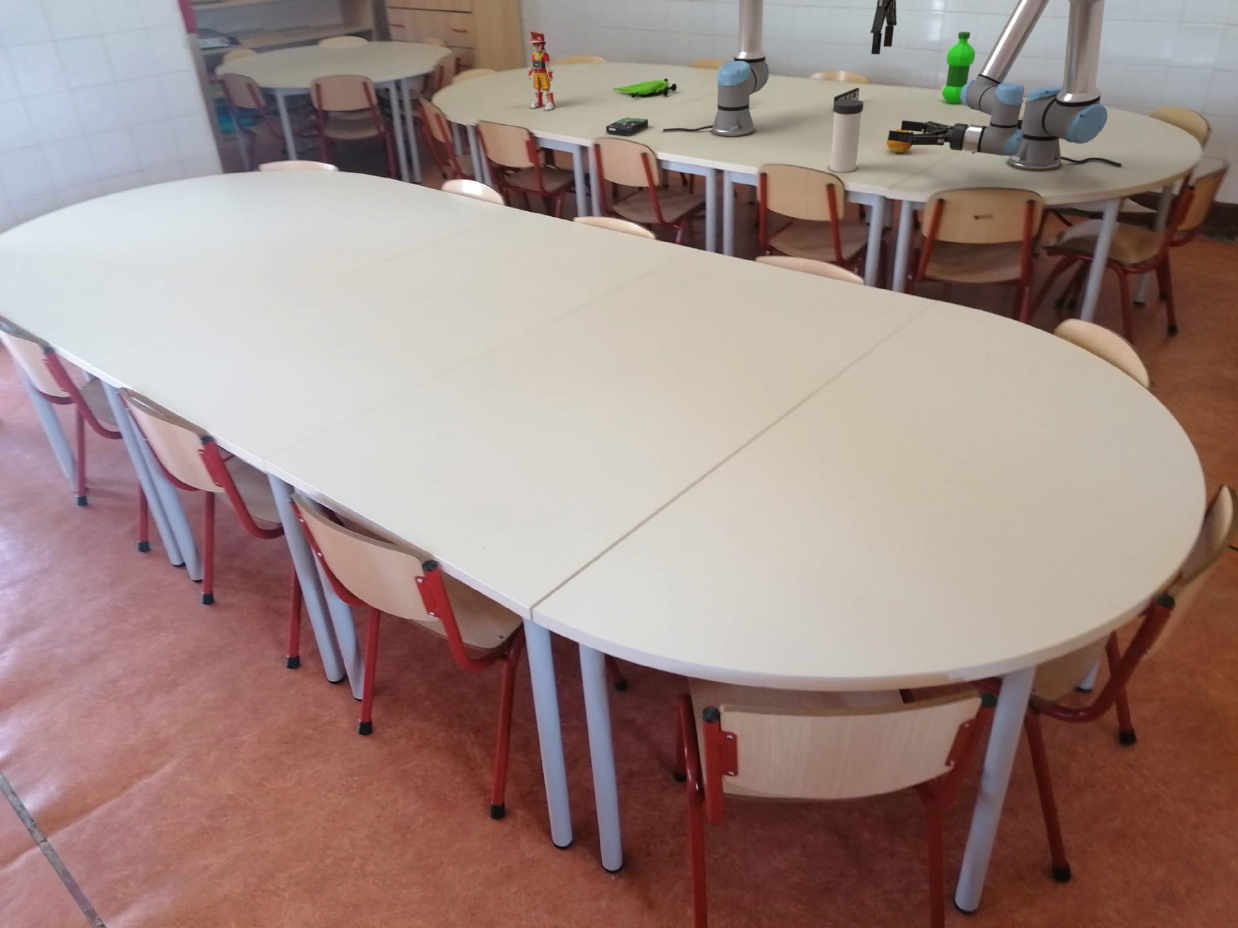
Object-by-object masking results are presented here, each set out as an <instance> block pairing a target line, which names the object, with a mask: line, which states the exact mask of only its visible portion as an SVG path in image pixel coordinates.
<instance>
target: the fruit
mask: <svg viewBox="0 0 1238 928" xmlns="http://www.w3.org/2000/svg"><path fill="white" fill-rule="evenodd" d="M893 131H900V132H909V133H911V131H907V130H901V128H898V129H894V130H893ZM888 137H889V135H888V136H887V138H886V147H887V148H888V149H889V150H890V152H893V153H905V152H907V151H909V150H910V149H911V148H912V147H913V145H910V143H908V142H900V141H891V140H888Z"/></svg>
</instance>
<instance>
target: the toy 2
mask: <svg viewBox="0 0 1238 928" xmlns="http://www.w3.org/2000/svg"><path fill="white" fill-rule="evenodd" d="M669 85H670V83H669V79H668V78H664V79H663V80H649V81H644V82H640V83H634V84H629V85H627V86H621V87H613V88H612V89H613V90H616V91H619V92H623V93H627V94H628V93H629V94H631V95H630V96H631V98H632V99H634V98H636V96H637V95H650V94H652V93H654V94H658V93H662V95H663V96H665V97H667V96H668V95H669V90H671V91H672V92H676V91H677V84H676V83H672V84H671V86H669Z"/></svg>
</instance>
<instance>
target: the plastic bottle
mask: <svg viewBox="0 0 1238 928" xmlns="http://www.w3.org/2000/svg"><path fill="white" fill-rule="evenodd" d="M970 36H971V32H970V31H959V32H958V36H957V39H958V42H957V43H956V44H954V45H953V46H952V47H951V48H950V49H949V50H948V52H947V54H946V63H947V64H948V69H947V70H948V71H947V76H946V77H947V78H946V84H945V85H944V87H943V90H942V97H943V99H944V100H945V101H946V102H947V103H948V104H960V103H962V101H961V98H960V94H961V90H962V88H963V86H964V85H966V84H967V83H968V79H969V73H970V67H971V65H972V64H973V63H974V61H975V57H976V51H975V49H974V47H972V45H971V44H970V43H969V42H968V41H969V39H970V38H971V37H970Z"/></svg>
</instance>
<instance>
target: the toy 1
mask: <svg viewBox="0 0 1238 928" xmlns="http://www.w3.org/2000/svg"><path fill="white" fill-rule="evenodd" d="M529 33H530V35H531V36H528V37H527V38H528V39H529V40H528V41H527V43H529V44H530V43H531V44H532V48H533V50H534V51H533V52H532V55H531V58H530V59H531V63H530V66H528V74H527V75H528V76H527V77H528V79H529V80H531V75H532V74H533V84H532V85H533V86H532V87H533V88H534V89H535V90H536V92H534V95H535V97H536V100H535V101H533V102H531V105H530V108H531V109H535V108H538V107H542V106H544V101H543V100H544V99H543V95H544V92H546V94H545V97H546V99H547V103H546V104H545V106H544V110H546V111H549V110H553V109H554V107H555V106H556V105H555V99H554V92H551V91H550V90H551V86H552V84H551V82H552V81H553V80H554V77H553V73H554V71H555V70H554V69H552V68H551V63H550V61H551V59H550V58H551V57H550V54H549V53H548V52H547V50H546V48H545V46H546V44H547V41H545V35H544V33H543V32H542V33H539V32H535V31H529Z"/></svg>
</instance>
